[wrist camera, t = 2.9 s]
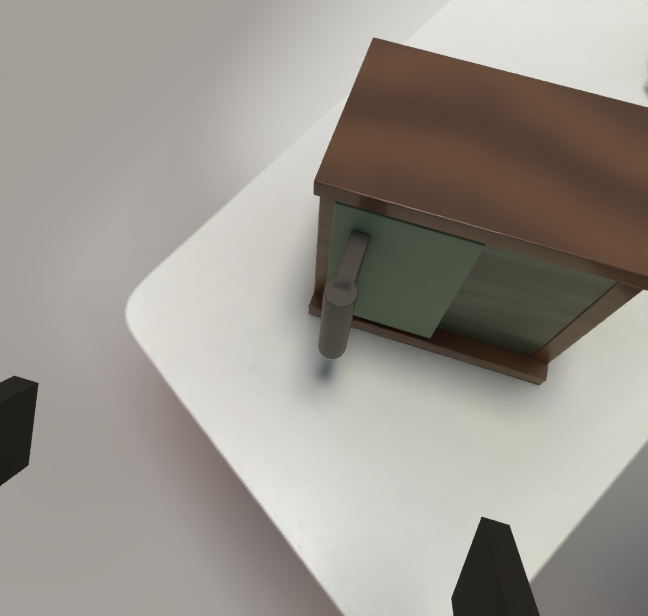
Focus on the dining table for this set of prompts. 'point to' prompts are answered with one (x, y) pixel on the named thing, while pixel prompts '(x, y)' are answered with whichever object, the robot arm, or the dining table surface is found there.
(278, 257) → the dining table surface
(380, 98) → the cupboard
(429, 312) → the sliding door
